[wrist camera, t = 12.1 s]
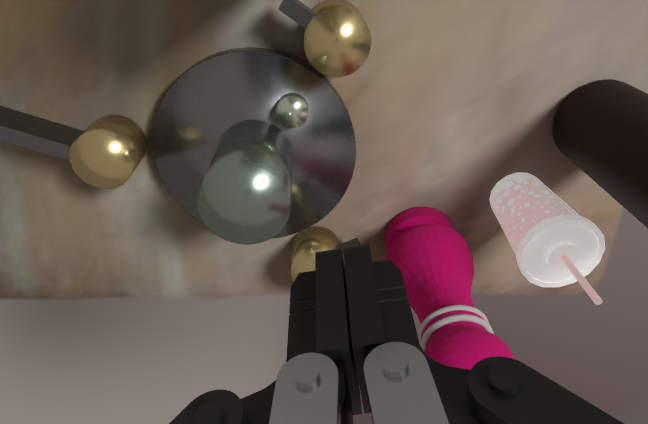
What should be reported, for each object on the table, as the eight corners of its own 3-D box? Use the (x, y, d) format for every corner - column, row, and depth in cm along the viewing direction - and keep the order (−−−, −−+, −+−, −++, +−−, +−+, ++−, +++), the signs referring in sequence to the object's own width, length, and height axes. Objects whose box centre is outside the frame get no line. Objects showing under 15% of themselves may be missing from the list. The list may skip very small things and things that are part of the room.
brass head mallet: (-42, 119, 37) (-79, 139, 33) (-43, 64, 35) (-83, 80, 31) (142, 172, 39) (126, 196, 36) (151, 125, 37) (135, 145, 34)
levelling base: (172, -48, 32) (126, -39, 23) (433, 25, 35) (472, 55, 26) (148, 234, 43) (111, 305, 35) (345, 271, 46) (354, 345, 38)
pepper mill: (366, 253, 45) (403, 455, 28) (400, 190, 42) (465, 376, 24) (434, 274, 46) (508, 477, 29) (471, 215, 43) (580, 405, 26)
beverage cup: (466, 203, 42) (530, 312, 30) (517, 151, 40) (608, 247, 28) (513, 235, 44) (590, 349, 32) (565, 187, 42) (668, 291, 30)
